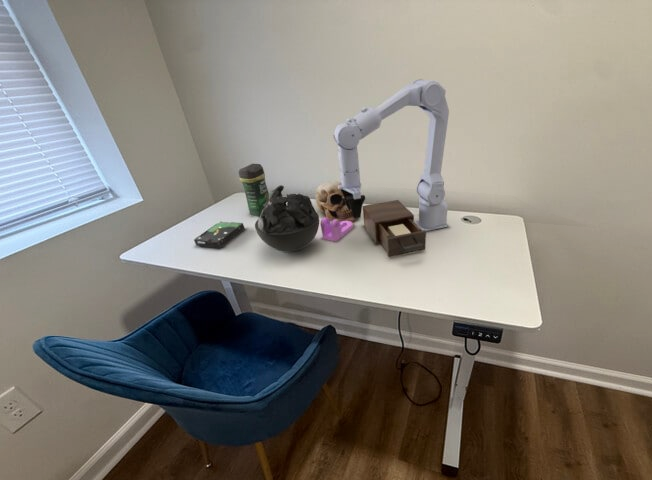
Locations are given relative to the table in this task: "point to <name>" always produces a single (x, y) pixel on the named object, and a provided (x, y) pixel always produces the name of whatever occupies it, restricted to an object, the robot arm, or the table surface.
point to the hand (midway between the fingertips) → (353, 213)
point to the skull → (333, 202)
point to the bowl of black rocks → (287, 221)
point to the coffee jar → (254, 187)
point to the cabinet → (383, 215)
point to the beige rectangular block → (397, 230)
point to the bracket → (334, 228)
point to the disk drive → (219, 234)
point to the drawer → (401, 238)
